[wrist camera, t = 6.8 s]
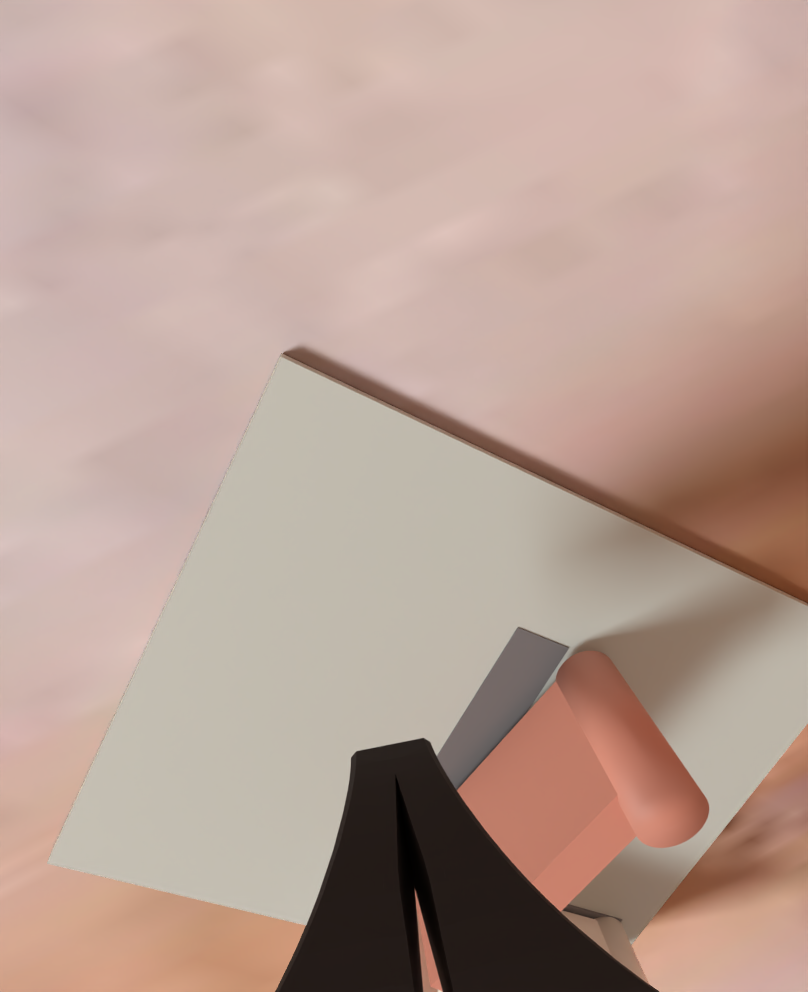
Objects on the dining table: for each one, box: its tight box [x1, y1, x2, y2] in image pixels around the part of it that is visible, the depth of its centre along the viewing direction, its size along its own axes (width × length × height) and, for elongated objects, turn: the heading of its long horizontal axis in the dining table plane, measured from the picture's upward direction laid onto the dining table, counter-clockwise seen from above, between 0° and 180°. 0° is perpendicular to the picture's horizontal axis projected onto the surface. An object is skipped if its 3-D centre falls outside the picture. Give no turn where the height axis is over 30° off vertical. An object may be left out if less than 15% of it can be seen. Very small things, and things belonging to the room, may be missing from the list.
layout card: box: [47, 353, 808, 945], centre depth 20 cm, size 18×15×1 cm
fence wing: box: [415, 651, 709, 991], centre depth 18 cm, size 8×2×5 cm, turn 143°
